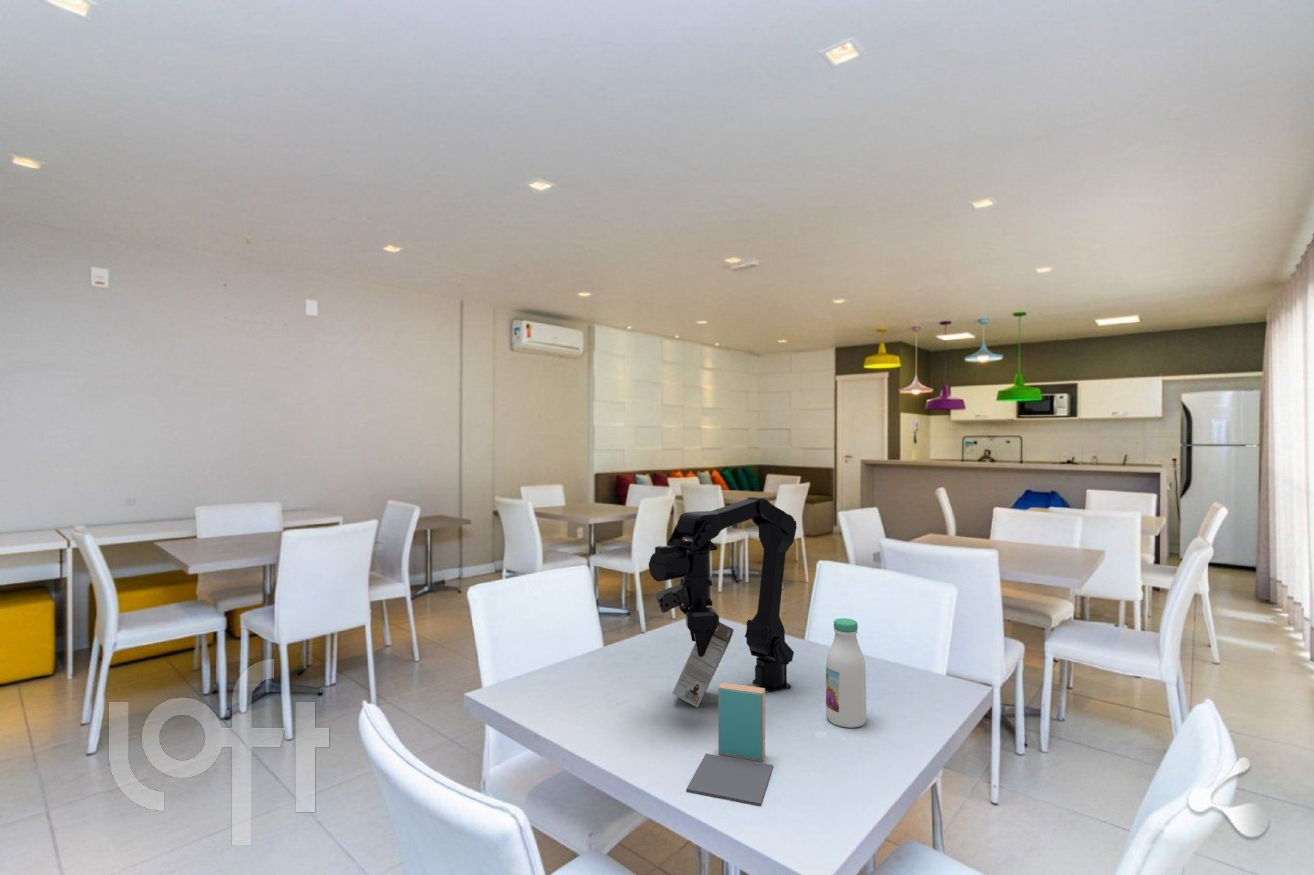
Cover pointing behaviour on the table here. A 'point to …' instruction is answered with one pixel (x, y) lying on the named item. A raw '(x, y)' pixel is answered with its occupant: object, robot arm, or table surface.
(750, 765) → the mat
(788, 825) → the table surface
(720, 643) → the coffee box
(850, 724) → the milk bottle
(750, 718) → the block
